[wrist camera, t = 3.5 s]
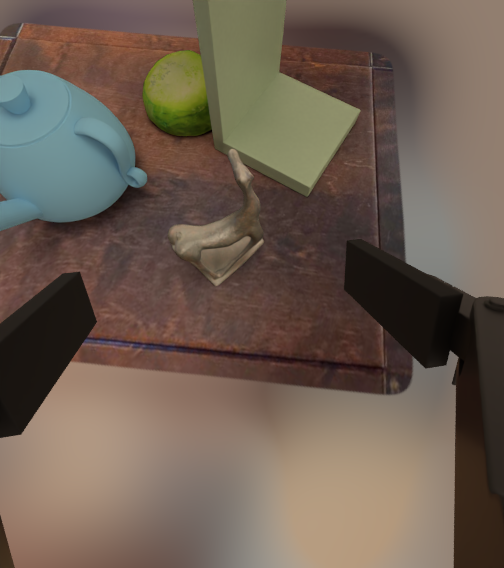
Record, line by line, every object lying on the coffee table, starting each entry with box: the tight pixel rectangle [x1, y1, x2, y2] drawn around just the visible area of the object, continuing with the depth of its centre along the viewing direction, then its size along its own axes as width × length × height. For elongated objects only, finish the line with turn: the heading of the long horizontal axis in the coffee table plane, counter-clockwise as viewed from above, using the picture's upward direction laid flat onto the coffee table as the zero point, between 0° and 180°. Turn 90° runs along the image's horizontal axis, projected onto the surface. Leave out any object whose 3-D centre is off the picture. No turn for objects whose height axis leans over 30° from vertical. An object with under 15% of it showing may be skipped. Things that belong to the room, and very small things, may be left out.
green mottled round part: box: [143, 50, 212, 136], centre depth 38 cm, size 12×11×5 cm
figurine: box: [168, 149, 264, 286], centre depth 27 cm, size 11×6×15 cm, turn 89°
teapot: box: [0, 70, 147, 231], centre depth 31 cm, size 20×20×13 cm
